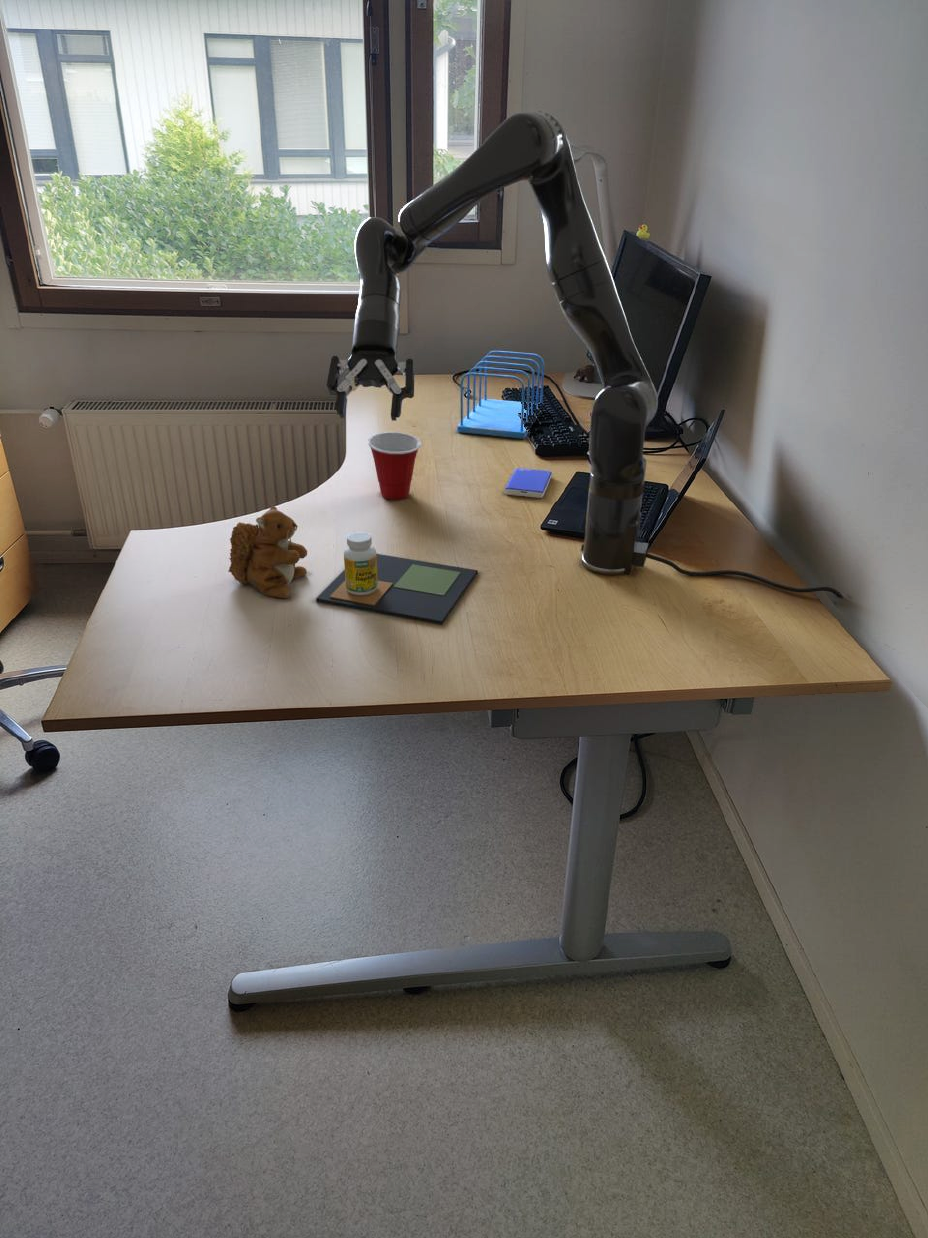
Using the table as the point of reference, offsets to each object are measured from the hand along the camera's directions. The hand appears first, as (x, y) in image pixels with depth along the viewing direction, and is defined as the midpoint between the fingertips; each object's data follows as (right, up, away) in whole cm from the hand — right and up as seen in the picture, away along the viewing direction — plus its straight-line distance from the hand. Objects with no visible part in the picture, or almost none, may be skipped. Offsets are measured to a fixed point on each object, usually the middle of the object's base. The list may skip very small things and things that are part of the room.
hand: (367, 417), depth 146 cm
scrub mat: (+5, -28, +6) cm, 29 cm away
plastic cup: (+1, -7, +41) cm, 42 cm away
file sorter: (+26, +18, +86) cm, 92 cm away
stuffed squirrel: (-18, -27, +7) cm, 33 cm away
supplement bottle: (-1, -28, +3) cm, 28 cm away
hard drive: (+30, -4, +47) cm, 56 cm away
